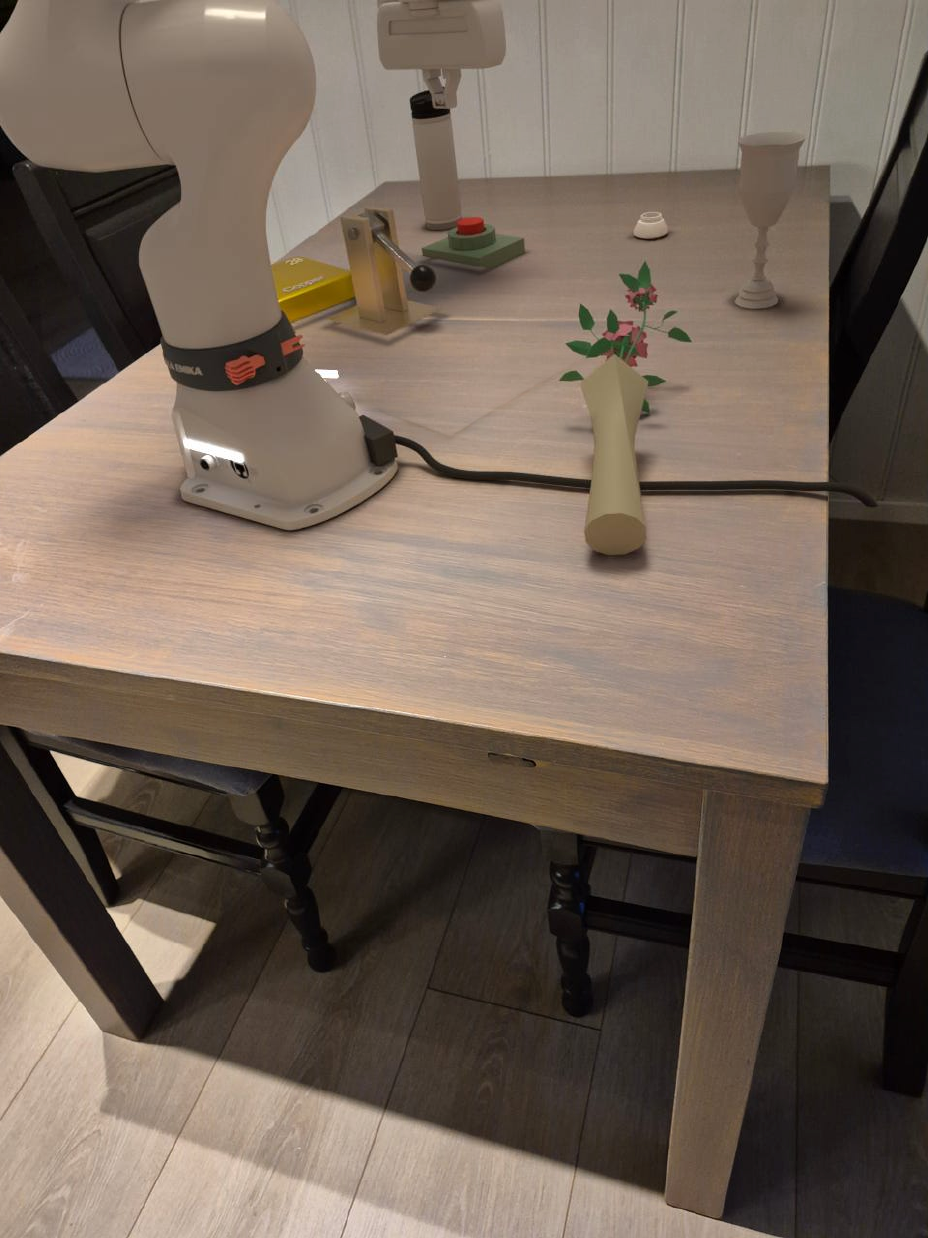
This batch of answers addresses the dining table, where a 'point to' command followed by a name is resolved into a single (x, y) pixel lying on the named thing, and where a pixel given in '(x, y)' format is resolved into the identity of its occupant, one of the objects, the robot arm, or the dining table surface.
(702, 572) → the dining table surface
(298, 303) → the element tile
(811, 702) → the dining table surface
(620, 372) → the flower vase
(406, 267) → the lever
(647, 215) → the white jar
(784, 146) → the chalice
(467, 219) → the button
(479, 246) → the button block
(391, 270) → the bracket
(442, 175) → the travel mug
